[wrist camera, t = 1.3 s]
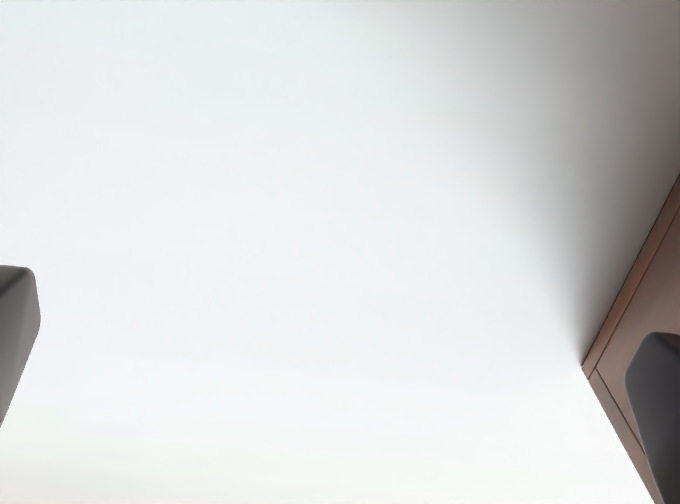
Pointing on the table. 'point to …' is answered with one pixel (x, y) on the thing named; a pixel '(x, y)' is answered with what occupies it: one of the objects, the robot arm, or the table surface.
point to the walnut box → (638, 328)
